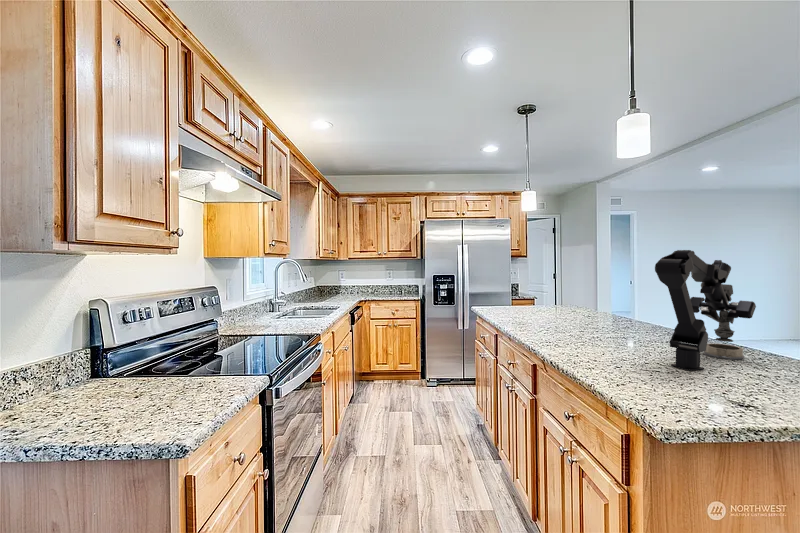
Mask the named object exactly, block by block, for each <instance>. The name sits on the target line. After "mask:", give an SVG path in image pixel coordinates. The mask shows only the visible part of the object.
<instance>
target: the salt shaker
mask: <svg viewBox="0 0 800 533" xmlns="http://www.w3.org/2000/svg"><path fill="white" fill-rule="evenodd" d="M728 313H729V311H718V315H719V322H718V328H715V329H713V331H714V334H715V335H716V336H717V337H716V338H715V339H714V340H715V341H719V342H726V343H732V342H734V340H733V339H732V337H733V336H734V333H735V332H736V331H735V330H732V329H731V327H730V325H731V323H730V321H729V319H728V318H727V315H728Z"/></svg>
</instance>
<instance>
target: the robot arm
mask: <svg viewBox="0 0 800 533" xmlns="http://www.w3.org/2000/svg"><path fill="white" fill-rule="evenodd" d="M731 270H732V267H731V265H729V264H728V263H726V262H723V261H722V260H721V259H715V260H713V262H712V264H710V263H706V262H705V261H704V260H703V259H701V258H700V257H699V256H698V255H696V253H695V251H694V250H690V249H683V250H682V249H677V250H674V251H673V252H672V253H671V254H668V255H665V256H662V257H661V258H660V259H659V260H658V261H657V262H656V263H655V265H654V272H655V273H656V275H657V278H658V280H659V281H660V283H662V284H664V286H666V287H667V289H668V293H669V295H670V299H671V304H672V306H673V309H674V313H675V317H676V319H677V320H676V321H677V324H676V326H675V327H674V329H673V334H672V336H671V338H670V339H669V347H670V348H675V363H670V366H672V367H676V368H679V369H682V370H685V371H687V372H688V371H690V372H692V371H701V370H703V371H704V370H705V367H703V366H701V353H703V352H704V351H706V347H707V344H708V340H709V334H708V332H707V327H706V326H705V321H704V320H703V319H700V318H696V315H695V314H698V313H699V312H700V311H701V312H700V314H701V315H702V316H703V315H704V316H706V317H708V318H710V319H711V320H714V321H715V322H717V323H719V312H720V311H728V312H729V313H728V315H727V318H728V319H729V321H730V325H731V324H732V325H733V324H734V321H735V319H738V318H741V319H752V318H753V315H754V313H755V310H756V308H757V306H756V303H755V301H752V300H751V301H749V300H739V301H738V302H736V301H735V302H734V301H732V296H733V295H734V289H733V288H734V286H733V285H732V284H725V283H726V282H727V279H728V277H729V275H730V273H731ZM690 276H691V278H692V279H693V281H694V282H696V283H700V287H701V288H700V290H699V293H700V294H704V295H703V296H704V297H705V298H704V297H700V296H699V297H698V296H692V297H691V296H690V293H689V290H688V286H687V280H688V279H689V277H690ZM731 301H732V302H731Z"/></svg>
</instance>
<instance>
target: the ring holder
mask: <svg viewBox="0 0 800 533" xmlns="http://www.w3.org/2000/svg"><path fill="white" fill-rule="evenodd" d="M702 354H703V355H706V356H707V355H708V357H711V358H715V357H716V359H721V358H723V359H722V360H729V359H732V360H731V361H741V360H742V359H743V360H744V359H745V355H744V348H742V347H739V346H737V345H736V346H735V345H732V344H725V343H714V342H713V343H712V342H711V343H707V347H706V351H703V352H702Z"/></svg>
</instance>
